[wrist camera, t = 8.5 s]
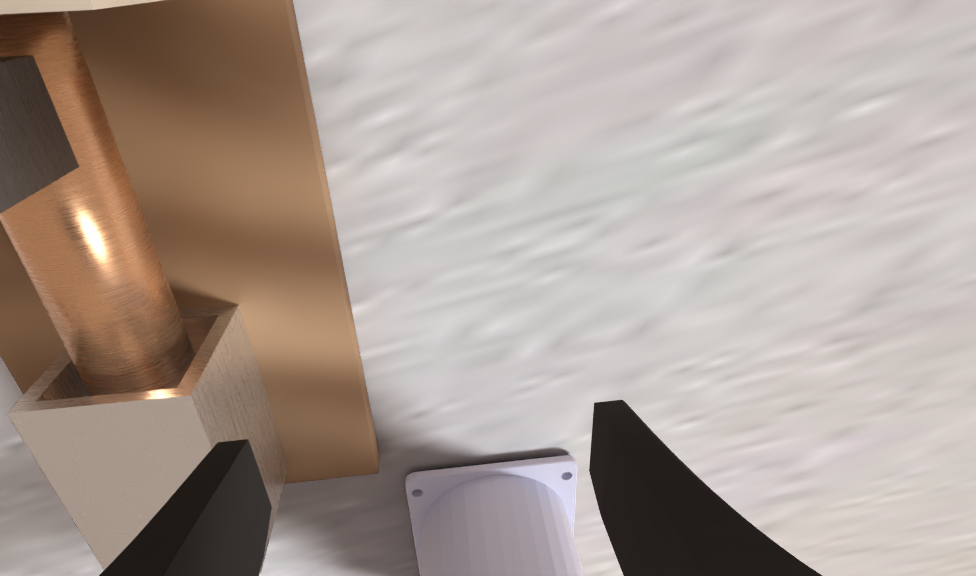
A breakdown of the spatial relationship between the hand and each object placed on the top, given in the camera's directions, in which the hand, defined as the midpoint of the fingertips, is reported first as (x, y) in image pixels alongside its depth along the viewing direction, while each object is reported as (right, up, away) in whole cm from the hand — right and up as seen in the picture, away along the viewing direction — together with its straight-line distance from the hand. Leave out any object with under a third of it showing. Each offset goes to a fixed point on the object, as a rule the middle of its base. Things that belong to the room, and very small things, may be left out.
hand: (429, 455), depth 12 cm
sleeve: (-10, 0, +10) cm, 14 cm away
